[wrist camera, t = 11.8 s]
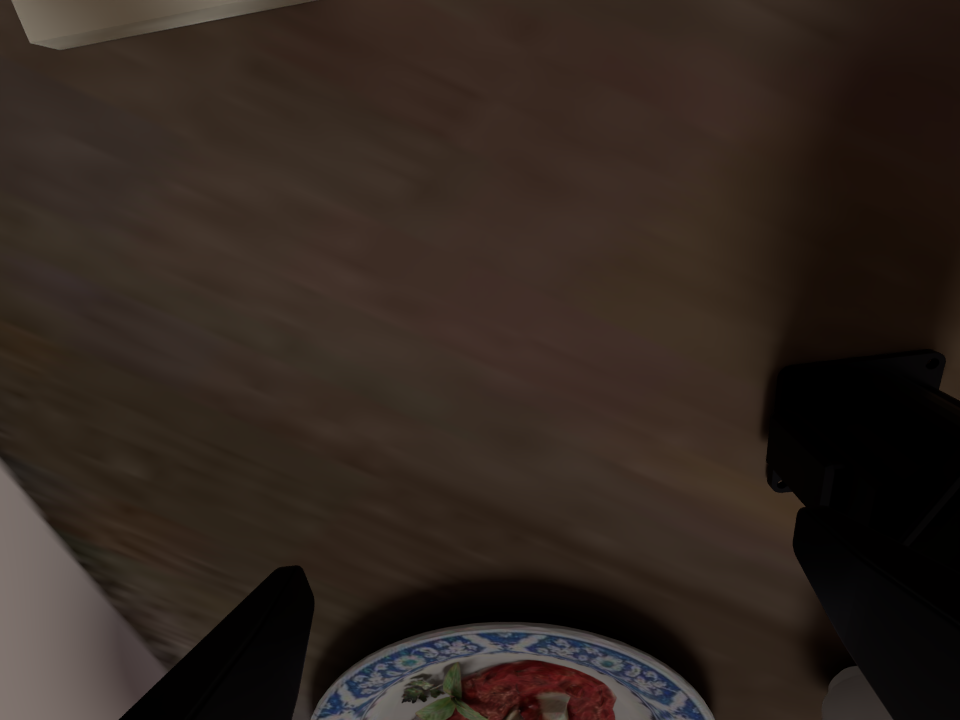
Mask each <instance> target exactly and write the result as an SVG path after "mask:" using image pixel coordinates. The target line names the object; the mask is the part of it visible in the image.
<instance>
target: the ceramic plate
mask: <svg viewBox="0 0 960 720" xmlns="http://www.w3.org/2000/svg"><path fill="white" fill-rule="evenodd" d="M311 720H715V719H714V717H713V714H712V712H711V711H710V709H709V708H708V706H707V704H706V703H705V701H704V700H703V698H702V697H701V696H700V695H699V693H698V692H697V691H696V690H695V689H694V687H693V686H692V685H691V684H690V683H688V682H687V681H686V680H685V679H684V678H683V677H682V676H681V675H680V674H678V673H677V672H676V671H674V670H673V669H672V668H670V667H669V666H668V665H666V664H665V663H663V662H661V661H660V660H658V659H656V658H655V657H653V656H651V655H650V654H648V653H645V652H643V651H641V650H639V649H637V648H635V647H632V646H630V645H628V644H626V643H624V642H621V641H618V640H615V639H612V638H609V637H606V636H603V635H599V634H596V633H592V632H589V631H584V630H579V629H575V628H570V627H565V626H558V625H552V624H545V623H528V622H487V623H475V624H466V625H459V626H453V627H447V628H442V629H437V630H433V631H429V632H425V633H421V634H418V635H415V636H412V637H408V638H405V639H403V640H400V641H398V642H395V643H393V644H390V645H388V646H386V647H384V648H382V649H380V650H378V651H376V652H374V653H372V654H370V655H368V656H367V657H365V658H363V659H362V660H360V661H359V662H357V663H356V664H354V665H353V666H352V667H350V668H349V669H348V670H347V671H345V672H344V673H343V674H342V675H340V676H339V678H338V679H337V680H336V681H335V682H334V683H333V684H332V685H331V686H330V687H329V688H328V690H327V691H326V692H325V694H324V695H323V697H322V698H321V699H320V701H319V702H318V704H317V706H316V708H315V711H314V713H313V715H312V718H311Z"/></svg>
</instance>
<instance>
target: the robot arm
mask: <svg viewBox="0 0 960 720" xmlns="http://www.w3.org/2000/svg"><path fill="white" fill-rule="evenodd" d="M930 359H931V361H930V363H928V364H927V362H928V361H929V360H930ZM945 362H946V358H945V357H944V355H943V354H941V353H939V352H936V351H934V350H931V349H925V350H917V351H908V352H900V353H891V354H883V355H874V356H866V357H857V358H848V359H840V360H831V361H823V362H814V363H806V364H797V365H790V366H786V367H785V368H783V369H782V370H781V371H780V372H779V375H778V379H777V389H776V399H775V409H774V413H773V414H772V416H771V418H770V427H769V437H768V447H767V457H766V461H767V463H768V464H769V467H768V476H767V482H768V484H769V485H770V487H771V488H772V489H773V490H774V491H775V492H778V493H784V492H793V493H794V494H795V495H796V496H797V497H798V499H799V500H800V501H801V502H802V503H803V504H804V505H805V506H806V507H803V508H800V509H799V511H798V512H797V517H796V523H795V530H794V537H793V549H794V553H795V555H796V557H797V559H798V561H799V563H800V565H801V567H802V569H803V571H804V573H805V574H806V576H807V578H808V580H809V582H810V584H811V586H812V587H813V589H814V591H815V593H816V595H817V597H818V599H819V601H820V602H821V604H822V606H823V608H824V610H825V612H826V614H827V615H828V617H829V619H830V621H831V623H832V625H833V627H834V628H835V630H836V632H837V634H838V636H839V637H840V639H841V641H842V643H843V644H844V646H845V647H846V649H847V651H848V652H849V654H850V655H851V657H852V658H853V660H854V661H855V663H856V665H857V666H858V668H859V669H860V671H861V672H862V674H863V675H864V677H865V678H866V680H867V681H868V683H869V684H870V686H871V687H872V689H873V690H874V692H875V693H876V695H877V696H878V698H879V699H880V701H881V702H882V704H883V705H884V707H885V708H886V710H887V711H888V713H889V714H890V716H891V717H892V719H893V720H960V401H959V400H957V399H955V398H953V397H951V396H950V395H948V394H946V393H944V392H942V391H940V390H939V386H940V382H941V378H942V374H943V370H944V366H945ZM926 364H927V365H926ZM795 374H796V376H795V378H794V379H793V380H791V381H789V378H790V377H791V376H792V375H795ZM780 480H783V481H782V482H780V483H778V482H779V481H780ZM313 613H314V596H313V593H312V590H311V588H310V585H309V583H308V580H307V578H306V575H305V573H304V571H303V569H302V568H301V567H300V566H297V565H294V566H286V567H280V568H277V569H276V570H274V571H273V572H272V573H271V574H270V575H269V576H268V577H267V578H266V579H265V580H264V581H263V582H262V583H261V584H260V585H259V586H258V587H257V588H256V589H254V590H253V591H252V592H251V593H250V594H249V595H248V596H247V597H246V598H245V599H244V600H243V601H242V602H241V603H240V604H239V605H238V606H237V607H236V608H235V609H234V610H233V611H232V612H230V613H229V614H228V615H227V616H226V617H225V618H224V619H223V620H222V621H221V622H220V623H219V624H218V625H217V626H216V627H215V628H214V629H213V630H212V631H211V632H210V633H209V634H208V635H206V636H205V637H204V638H203V639H202V640H201V641H200V642H199V643H198V644H197V645H196V646H195V647H194V648H193V649H192V650H191V651H190V652H189V653H188V654H187V655H186V656H185V657H184V658H182V659H181V660H180V661H179V662H178V663H177V664H176V665H175V666H174V667H173V668H172V669H171V670H170V671H169V672H168V673H167V674H166V675H165V676H164V677H163V678H162V679H161V680H160V681H159V682H157V683H156V684H155V685H154V686H153V687H152V688H151V689H150V690H149V691H148V692H147V693H146V694H145V695H144V696H143V697H142V698H141V699H140V700H139V701H138V702H137V703H136V704H135V705H133V706H132V708H130V709H129V710H128V711H127V712H126V713H125V714H124V715H123V716H122V717H121V718H120V719H119V720H292V716H293V713H294V709H295V705H296V701H297V697H298V693H299V688H300V683H301V678H302V672H303V667H304V662H305V656H306V651H307V645H308V640H309V635H310V629H311V624H312V618H313Z"/></svg>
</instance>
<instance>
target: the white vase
mask: <svg viewBox="0 0 960 720" xmlns="http://www.w3.org/2000/svg"><path fill="white" fill-rule="evenodd" d="M822 720H893V719H892V717H891V716H890V714H889V713H888V711H887V710H886V708H885V707H884V705H883V704H882V702H881V701H880V699H879V698H878V696H877V695H876V693H875V692H874V690H873V689H872V687H871V686H870V684H869V683H868V681H867V680H866V678H865V677H864V675H863V674H862V672H861V671H860V669H859V668H858V666H852V667H848V668H845V669H843V670H842V671H840V672H839V674H837V675H836V676H835V677H834V678H833V679H832V680H831V682H830V684H829V687H828V693H827V695H826V696H825V698H824V700H823V703H822Z"/></svg>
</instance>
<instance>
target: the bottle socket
mask: <svg viewBox="0 0 960 720" xmlns="http://www.w3.org/2000/svg"><path fill="white" fill-rule="evenodd" d="M311 1H316V0H12V3H13V5H14V7H15V9H16V12H17V14H18V16H19V19H20V21H21V23H22V26H23V28H24V30H25V32H26V35H27V37H28V39H29V42H30V43H33V44H37V45H41V46H45V47H50V48H54V49H58V50H63V49H68V48H73V47H78V46H83V45H89V44H94V43H99V42H104V41H109V40H114V39H120V38H125V37H130V36H135V35H140V34H145V33H151V32H156V31H161V30H166V29H171V28H176V27H181V26H187V25H192V24H197V23H202V22H207V21H212V20H218V19H223V18H228V17H233V16H238V15H243V14H249V13H254V12H259V11H264V10H269V9H274V8H280V7H285V6H290V5H295V4H300V3H305V2H311Z"/></svg>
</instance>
